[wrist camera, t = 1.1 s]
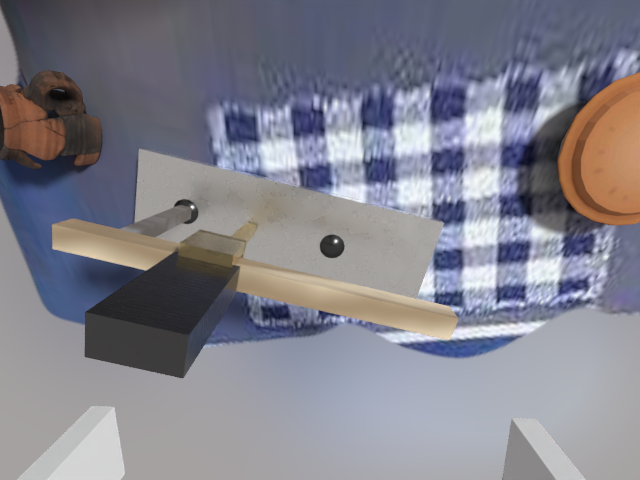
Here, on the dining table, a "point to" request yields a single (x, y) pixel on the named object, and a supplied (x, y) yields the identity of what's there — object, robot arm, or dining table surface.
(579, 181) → the pie
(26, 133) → the broken clay pot
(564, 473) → the robot arm
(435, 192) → the dining table surface
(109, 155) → the dining table surface
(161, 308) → the block
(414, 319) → the bar
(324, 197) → the hole plate
